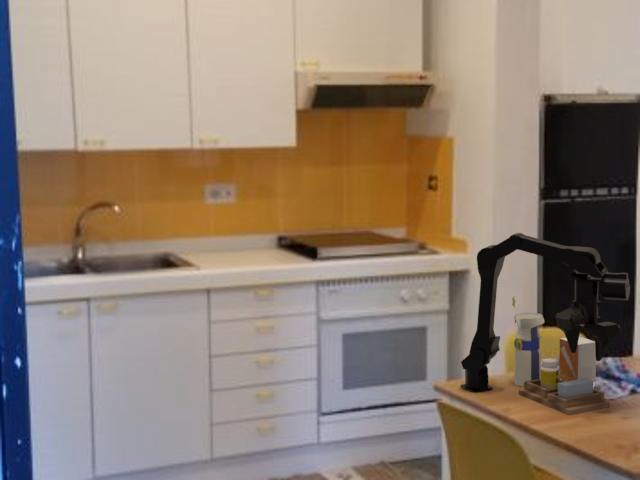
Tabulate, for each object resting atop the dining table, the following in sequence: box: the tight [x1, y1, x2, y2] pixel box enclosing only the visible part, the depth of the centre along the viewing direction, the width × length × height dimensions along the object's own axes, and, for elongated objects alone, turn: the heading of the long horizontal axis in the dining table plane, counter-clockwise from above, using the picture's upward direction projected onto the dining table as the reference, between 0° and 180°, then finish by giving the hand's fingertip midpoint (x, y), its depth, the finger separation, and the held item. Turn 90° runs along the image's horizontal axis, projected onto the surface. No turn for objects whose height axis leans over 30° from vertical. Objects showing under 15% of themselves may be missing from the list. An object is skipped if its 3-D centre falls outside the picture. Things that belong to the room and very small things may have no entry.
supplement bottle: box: [541, 357, 559, 389], centre depth 237 cm, size 5×5×8 cm
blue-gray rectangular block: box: [558, 378, 594, 399], centre depth 228 cm, size 3×9×5 cm, turn 116°
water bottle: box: [511, 295, 545, 387], centre depth 247 cm, size 8×9×25 cm
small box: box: [558, 336, 597, 382], centre depth 245 cm, size 8×6×13 cm
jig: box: [517, 379, 610, 416], centre depth 233 cm, size 20×13×3 cm, turn 26°
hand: (585, 356), depth 230 cm, fingers open, 9 cm apart
